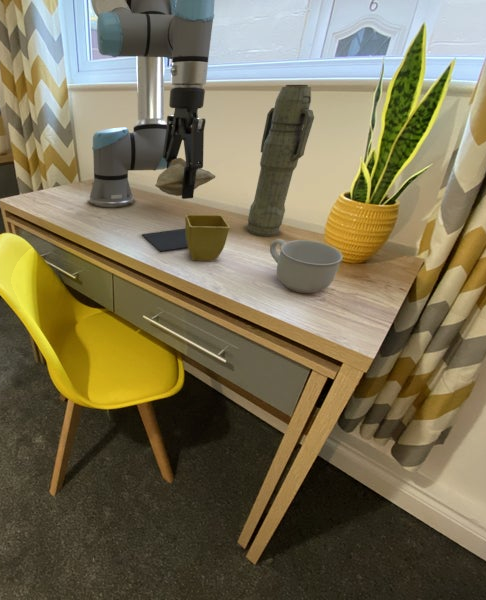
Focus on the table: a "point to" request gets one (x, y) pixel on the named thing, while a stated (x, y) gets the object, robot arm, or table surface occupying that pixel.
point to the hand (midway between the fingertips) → (178, 193)
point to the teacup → (306, 264)
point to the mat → (167, 240)
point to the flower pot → (205, 236)
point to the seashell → (180, 177)
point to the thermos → (280, 157)
